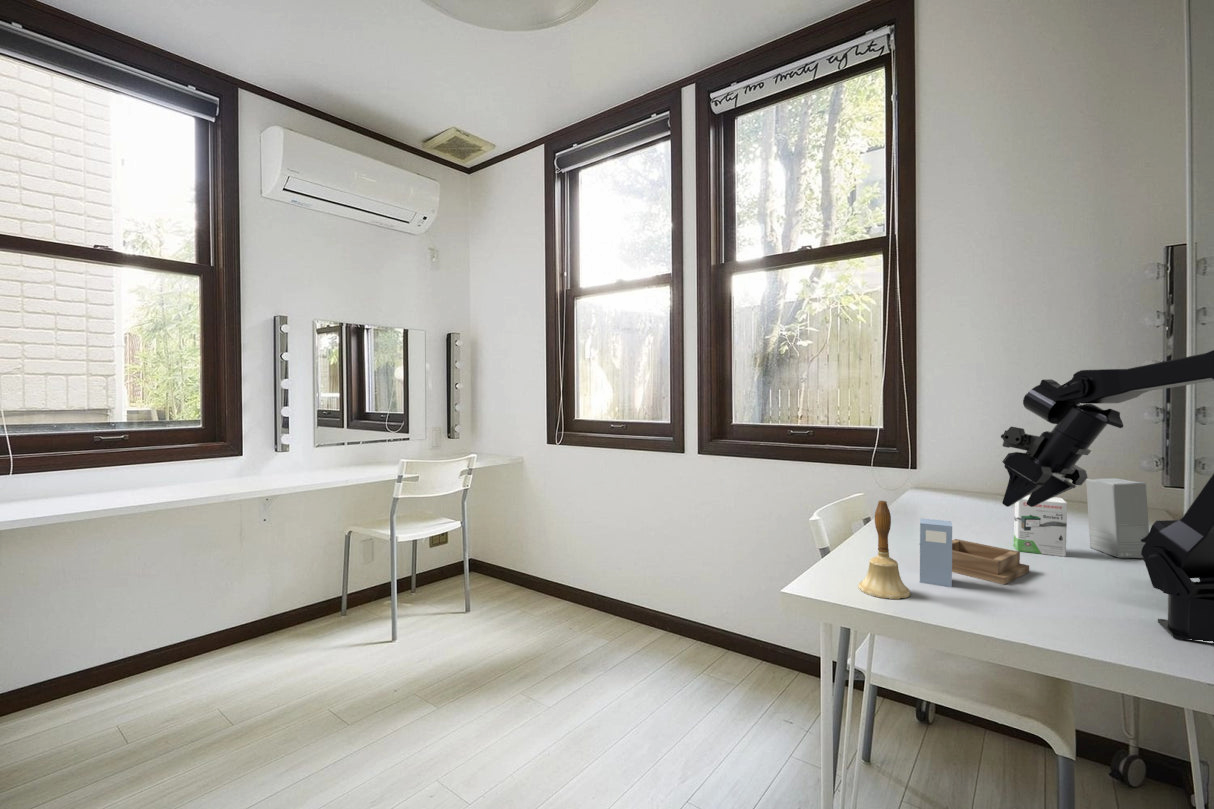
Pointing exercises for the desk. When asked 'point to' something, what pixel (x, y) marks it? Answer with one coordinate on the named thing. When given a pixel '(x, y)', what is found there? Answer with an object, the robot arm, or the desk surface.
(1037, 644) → the desk surface
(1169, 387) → the robot arm
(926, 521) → the box
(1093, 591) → the desk surface
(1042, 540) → the ink box
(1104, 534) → the skincare box
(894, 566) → the hand bell
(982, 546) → the tray
